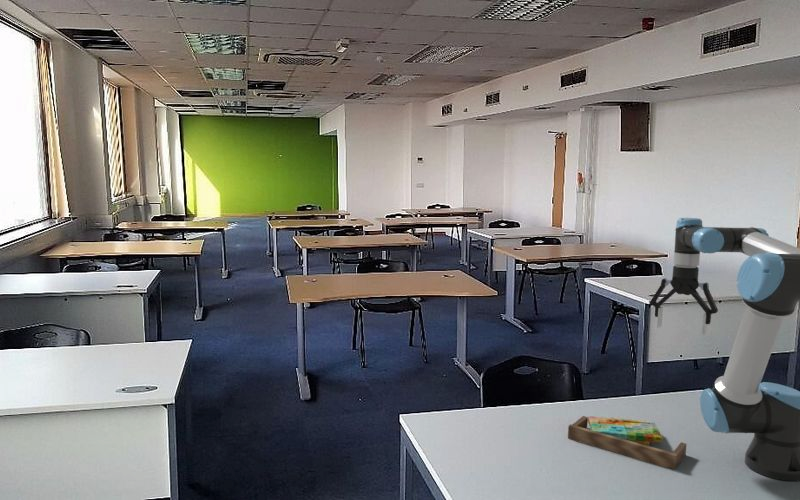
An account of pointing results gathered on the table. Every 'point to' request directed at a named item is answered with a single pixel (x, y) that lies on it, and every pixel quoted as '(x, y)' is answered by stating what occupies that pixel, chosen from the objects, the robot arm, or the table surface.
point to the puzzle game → (626, 429)
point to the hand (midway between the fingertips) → (681, 330)
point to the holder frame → (625, 445)
